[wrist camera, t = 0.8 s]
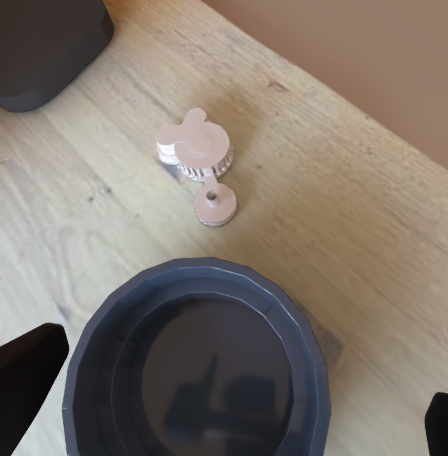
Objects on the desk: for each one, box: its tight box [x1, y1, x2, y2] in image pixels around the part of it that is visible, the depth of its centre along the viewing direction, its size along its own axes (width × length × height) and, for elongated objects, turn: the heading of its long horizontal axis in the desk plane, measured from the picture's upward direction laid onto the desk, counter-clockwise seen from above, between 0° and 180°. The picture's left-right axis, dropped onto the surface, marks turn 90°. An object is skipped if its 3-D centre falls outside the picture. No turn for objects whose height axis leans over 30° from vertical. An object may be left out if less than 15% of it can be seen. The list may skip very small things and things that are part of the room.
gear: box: [155, 90, 237, 226], centre depth 27 cm, size 9×9×2 cm
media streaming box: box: [0, 0, 113, 112], centre depth 34 cm, size 15×15×3 cm
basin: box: [62, 257, 331, 456], centre depth 19 cm, size 13×13×6 cm
